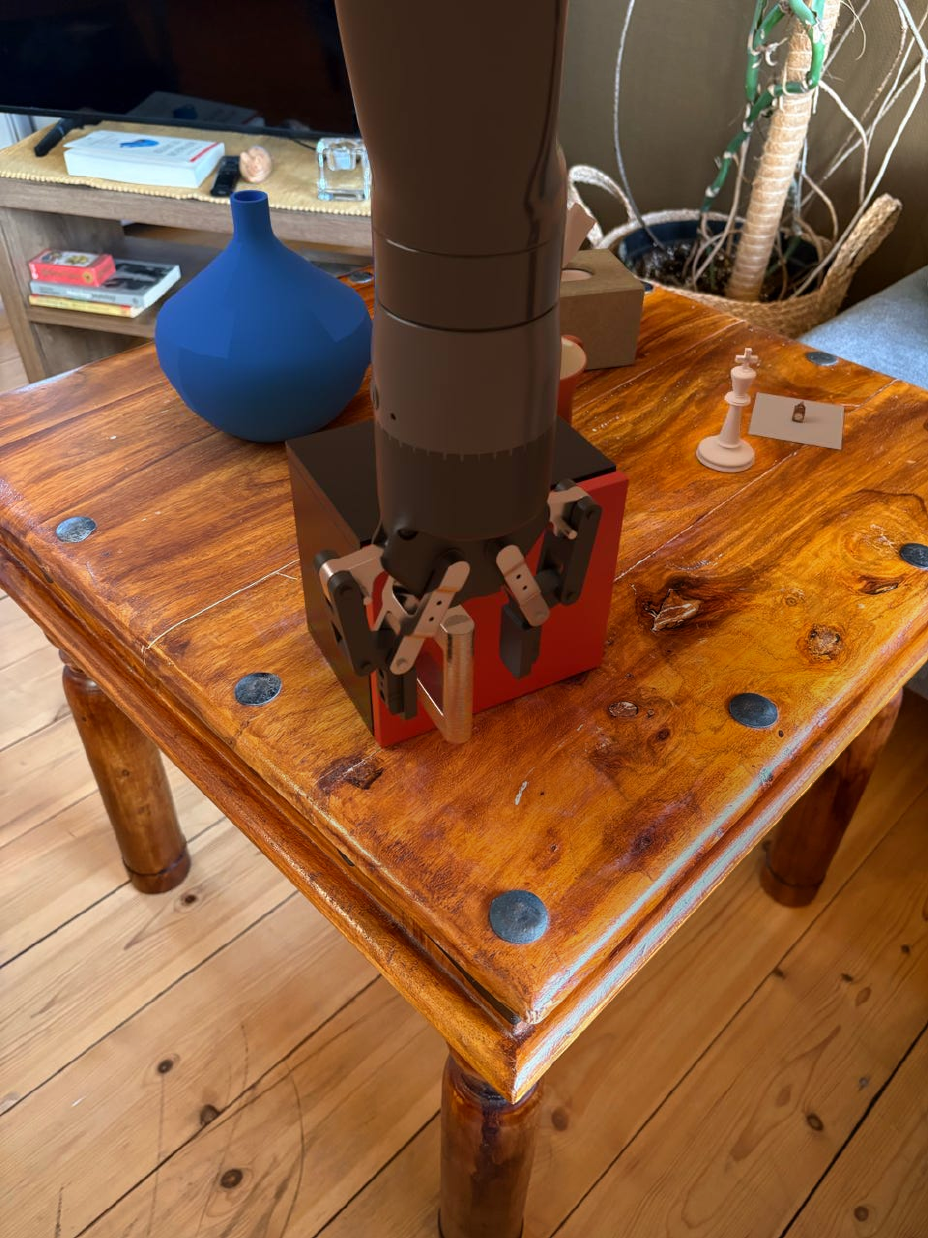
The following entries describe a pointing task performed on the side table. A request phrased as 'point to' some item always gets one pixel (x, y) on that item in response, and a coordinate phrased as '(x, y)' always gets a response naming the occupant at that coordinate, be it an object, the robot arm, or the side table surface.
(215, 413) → the vase
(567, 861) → the side table surface
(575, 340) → the mug
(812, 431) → the grey square plate
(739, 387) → the chess piece
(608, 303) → the tissue box
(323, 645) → the dark brown cabinet
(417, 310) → the robot arm
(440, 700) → the door
